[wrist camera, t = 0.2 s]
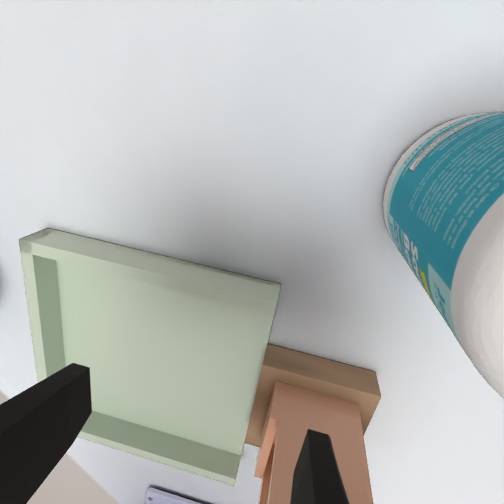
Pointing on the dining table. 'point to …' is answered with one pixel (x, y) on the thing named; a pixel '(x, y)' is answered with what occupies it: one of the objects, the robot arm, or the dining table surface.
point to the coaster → (311, 384)
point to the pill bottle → (457, 230)
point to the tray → (151, 346)
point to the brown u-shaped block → (292, 437)
